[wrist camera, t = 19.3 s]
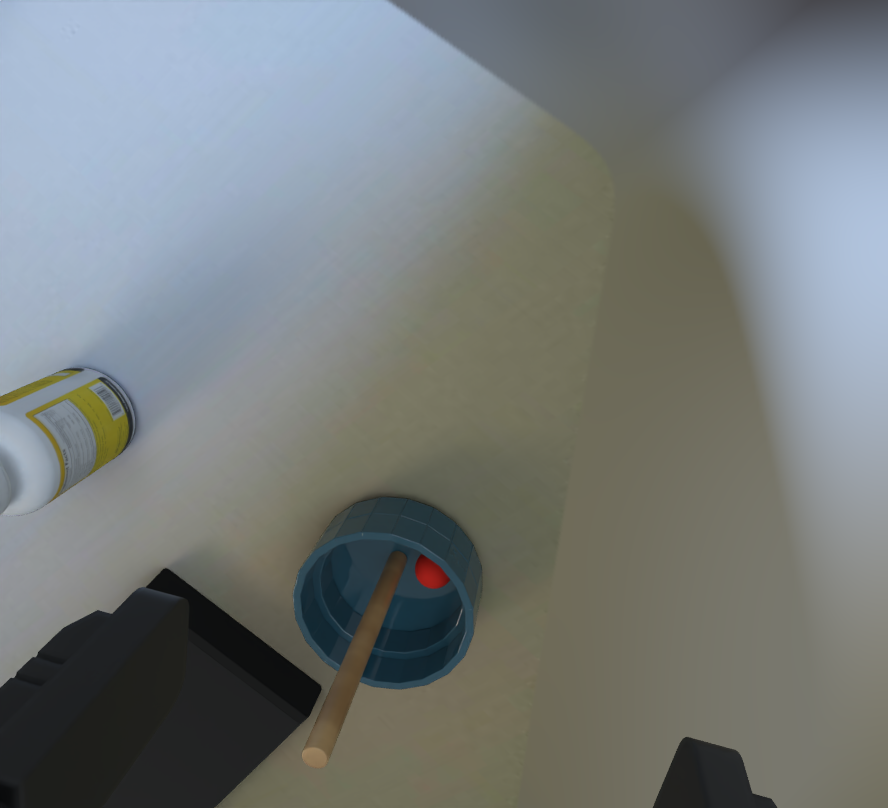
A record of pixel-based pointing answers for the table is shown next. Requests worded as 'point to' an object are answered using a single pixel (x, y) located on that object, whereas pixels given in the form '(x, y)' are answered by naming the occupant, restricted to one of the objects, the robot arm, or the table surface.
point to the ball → (430, 573)
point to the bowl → (413, 605)
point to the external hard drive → (216, 712)
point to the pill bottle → (59, 435)
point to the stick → (353, 666)
